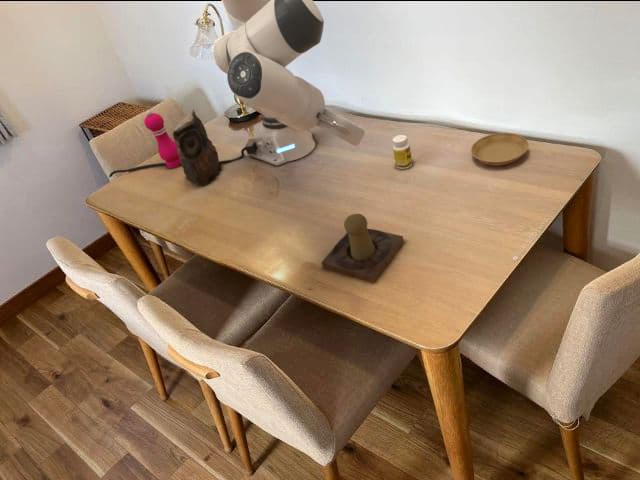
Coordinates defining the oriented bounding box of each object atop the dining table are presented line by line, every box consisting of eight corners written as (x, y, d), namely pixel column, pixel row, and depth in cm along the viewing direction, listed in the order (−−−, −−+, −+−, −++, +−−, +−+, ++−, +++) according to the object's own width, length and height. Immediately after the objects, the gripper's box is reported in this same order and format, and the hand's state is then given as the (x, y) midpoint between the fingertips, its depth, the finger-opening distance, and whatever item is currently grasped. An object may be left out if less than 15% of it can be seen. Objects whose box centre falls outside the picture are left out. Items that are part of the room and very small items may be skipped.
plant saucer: (460, 159, 137) (459, 151, 136) (496, 135, 142) (496, 127, 141) (502, 176, 127) (502, 168, 126) (540, 150, 132) (540, 141, 131)
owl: (221, 161, 168) (195, 105, 155) (231, 175, 159) (205, 117, 146) (185, 176, 166) (157, 121, 152) (194, 192, 157) (164, 135, 143)
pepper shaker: (351, 249, 119) (339, 213, 112) (375, 244, 119) (366, 207, 112) (352, 266, 115) (341, 229, 108) (378, 260, 114) (368, 223, 107)
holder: (322, 268, 117) (320, 262, 115) (354, 230, 124) (352, 224, 123) (374, 283, 109) (372, 276, 108) (404, 242, 117) (403, 235, 116)
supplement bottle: (411, 168, 139) (407, 142, 134) (395, 170, 141) (389, 143, 135) (413, 159, 143) (409, 133, 137) (397, 160, 144) (392, 134, 139)
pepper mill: (190, 158, 175) (163, 104, 162) (177, 169, 171) (148, 115, 158) (175, 157, 178) (147, 105, 165) (162, 168, 174) (132, 115, 161)
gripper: (348, 110, 89) (383, 132, 101) (272, 72, 98) (312, 97, 110) (332, 143, 91) (369, 160, 103) (259, 102, 100) (300, 123, 112)
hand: (339, 127), depth 107 cm, fingers open, 8 cm apart
